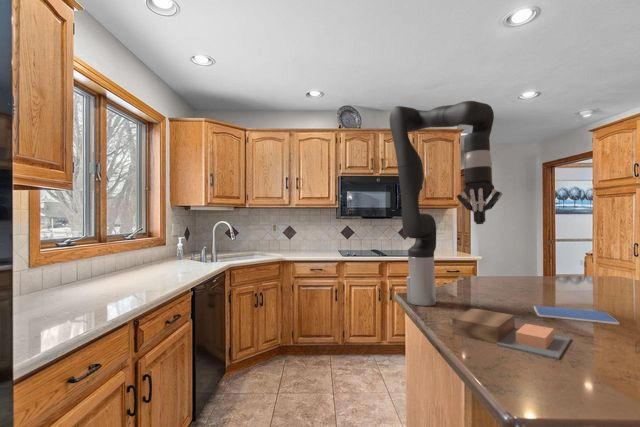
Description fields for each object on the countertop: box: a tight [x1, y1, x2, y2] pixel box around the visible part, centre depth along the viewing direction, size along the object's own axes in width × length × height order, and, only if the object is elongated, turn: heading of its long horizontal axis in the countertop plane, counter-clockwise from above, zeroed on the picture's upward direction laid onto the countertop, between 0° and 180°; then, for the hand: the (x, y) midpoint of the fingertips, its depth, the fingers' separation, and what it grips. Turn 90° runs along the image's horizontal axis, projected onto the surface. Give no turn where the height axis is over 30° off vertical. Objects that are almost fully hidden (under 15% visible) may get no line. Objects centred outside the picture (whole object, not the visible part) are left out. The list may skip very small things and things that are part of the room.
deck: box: [452, 307, 516, 345], centre depth 86 cm, size 11×14×4 cm
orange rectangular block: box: [516, 323, 555, 349], centre depth 78 cm, size 6×9×2 cm, turn 134°
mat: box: [496, 327, 572, 360], centre depth 78 cm, size 12×16×1 cm
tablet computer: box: [533, 305, 621, 326], centre depth 99 cm, size 19×13×1 cm, turn 62°
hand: (479, 224), depth 97 cm, fingers closed
